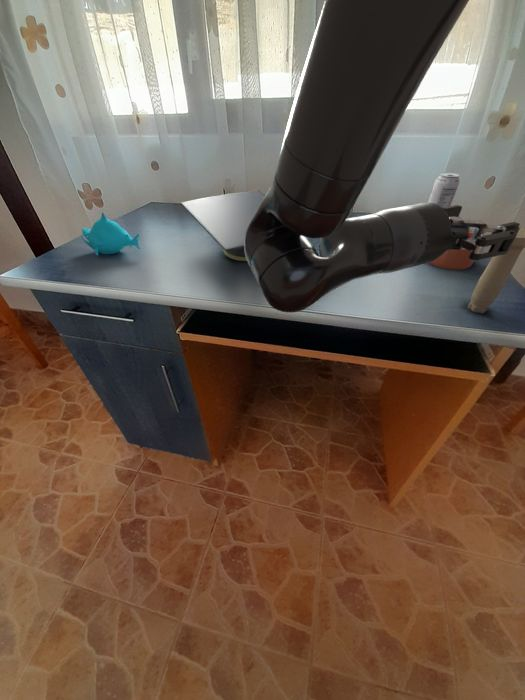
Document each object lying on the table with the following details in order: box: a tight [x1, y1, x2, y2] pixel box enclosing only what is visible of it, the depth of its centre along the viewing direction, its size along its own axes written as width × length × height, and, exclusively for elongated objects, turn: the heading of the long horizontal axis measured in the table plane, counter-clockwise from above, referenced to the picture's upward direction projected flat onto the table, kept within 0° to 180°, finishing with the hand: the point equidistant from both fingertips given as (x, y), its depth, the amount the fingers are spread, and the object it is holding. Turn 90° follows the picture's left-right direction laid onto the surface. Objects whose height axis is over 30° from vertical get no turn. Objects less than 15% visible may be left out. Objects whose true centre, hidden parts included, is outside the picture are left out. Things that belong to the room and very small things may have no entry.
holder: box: [428, 230, 475, 270], centre depth 73 cm, size 11×11×6 cm
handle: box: [467, 226, 525, 314], centre depth 53 cm, size 5×6×15 cm
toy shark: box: [81, 211, 141, 256], centre depth 76 cm, size 10×18×11 cm, turn 72°
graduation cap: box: [180, 190, 266, 262], centre depth 77 cm, size 28×23×10 cm
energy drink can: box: [428, 172, 460, 208], centre depth 86 cm, size 6×6×15 cm
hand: (483, 221), depth 43 cm, fingers open, 8 cm apart
